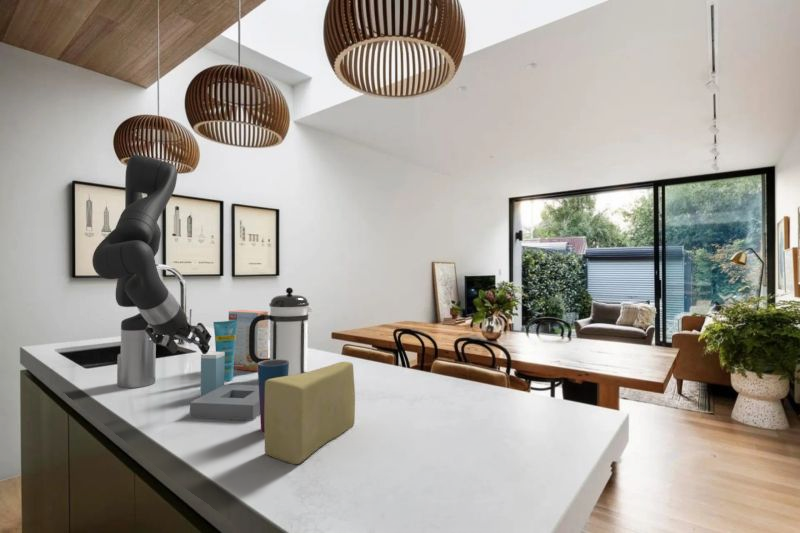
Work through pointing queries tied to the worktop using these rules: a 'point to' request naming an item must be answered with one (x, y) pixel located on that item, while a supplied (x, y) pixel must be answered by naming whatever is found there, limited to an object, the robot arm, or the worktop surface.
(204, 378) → the white-topped blue pillar
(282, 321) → the coffee press
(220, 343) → the tube
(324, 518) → the worktop surface
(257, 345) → the cracker box
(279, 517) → the worktop surface
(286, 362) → the cup
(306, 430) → the cheese
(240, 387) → the socket
